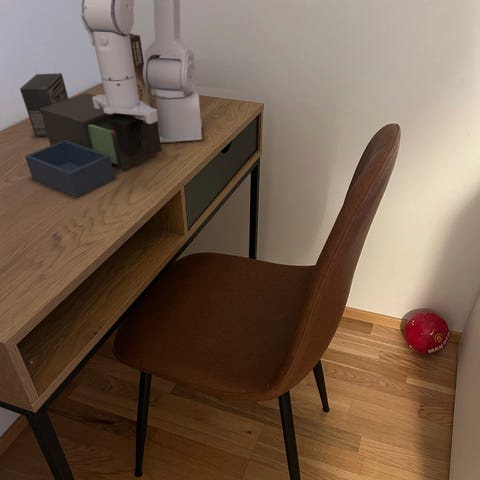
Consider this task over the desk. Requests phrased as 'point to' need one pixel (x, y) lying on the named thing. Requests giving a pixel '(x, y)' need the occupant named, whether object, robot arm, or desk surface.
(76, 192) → the box
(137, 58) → the coffee box
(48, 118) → the cabinet
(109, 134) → the drawer
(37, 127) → the small box
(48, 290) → the desk surface
